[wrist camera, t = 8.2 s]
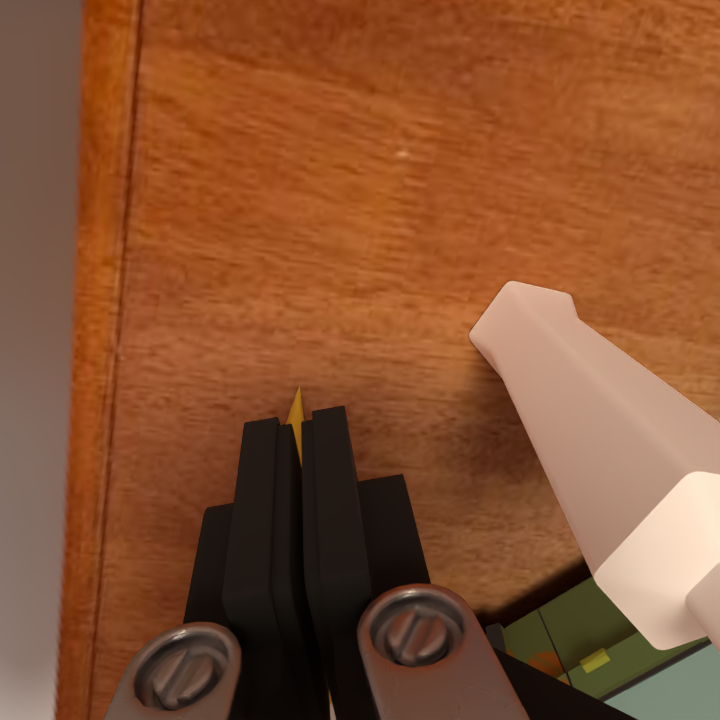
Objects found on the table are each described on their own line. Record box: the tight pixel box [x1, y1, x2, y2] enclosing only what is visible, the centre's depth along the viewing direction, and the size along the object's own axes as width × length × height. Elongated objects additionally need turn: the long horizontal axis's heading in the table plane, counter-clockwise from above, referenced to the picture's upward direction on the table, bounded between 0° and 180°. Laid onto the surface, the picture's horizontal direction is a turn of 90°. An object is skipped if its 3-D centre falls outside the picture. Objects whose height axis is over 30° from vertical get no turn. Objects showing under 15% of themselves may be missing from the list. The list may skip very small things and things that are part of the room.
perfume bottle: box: [469, 281, 720, 653], centre depth 18 cm, size 5×4×15 cm
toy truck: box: [486, 576, 720, 720], centre depth 27 cm, size 11×21×10 cm, turn 127°
